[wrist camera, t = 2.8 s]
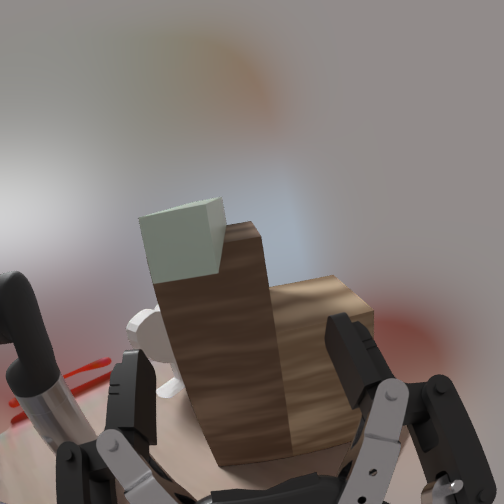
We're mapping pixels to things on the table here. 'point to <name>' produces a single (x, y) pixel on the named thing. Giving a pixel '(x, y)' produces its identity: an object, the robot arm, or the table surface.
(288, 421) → the stand
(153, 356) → the heart sculpture
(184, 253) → the pale green bar
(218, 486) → the table surface
